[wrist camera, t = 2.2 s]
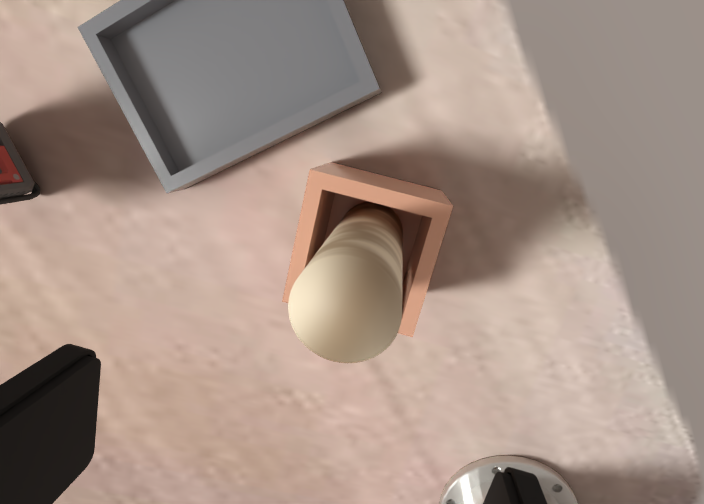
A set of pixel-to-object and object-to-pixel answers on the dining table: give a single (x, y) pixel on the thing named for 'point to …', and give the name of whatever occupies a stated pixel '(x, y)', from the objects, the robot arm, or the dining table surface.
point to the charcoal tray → (226, 76)
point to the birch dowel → (352, 288)
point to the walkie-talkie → (14, 173)
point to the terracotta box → (401, 196)
